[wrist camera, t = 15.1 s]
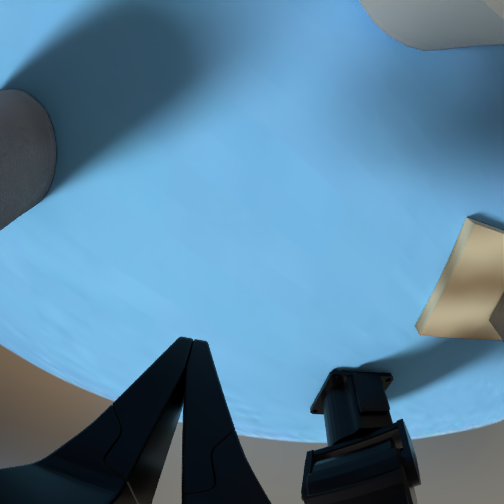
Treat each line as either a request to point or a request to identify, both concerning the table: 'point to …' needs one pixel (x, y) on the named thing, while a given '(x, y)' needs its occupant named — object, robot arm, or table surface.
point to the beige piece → (468, 286)
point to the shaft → (498, 318)
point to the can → (439, 22)
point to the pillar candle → (24, 154)
